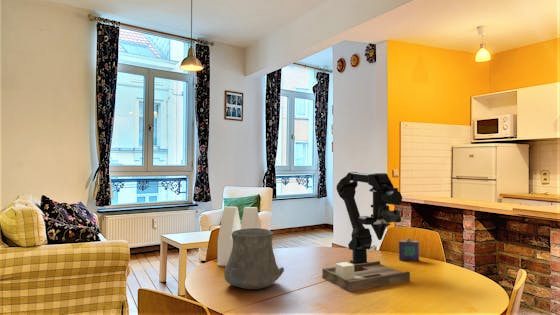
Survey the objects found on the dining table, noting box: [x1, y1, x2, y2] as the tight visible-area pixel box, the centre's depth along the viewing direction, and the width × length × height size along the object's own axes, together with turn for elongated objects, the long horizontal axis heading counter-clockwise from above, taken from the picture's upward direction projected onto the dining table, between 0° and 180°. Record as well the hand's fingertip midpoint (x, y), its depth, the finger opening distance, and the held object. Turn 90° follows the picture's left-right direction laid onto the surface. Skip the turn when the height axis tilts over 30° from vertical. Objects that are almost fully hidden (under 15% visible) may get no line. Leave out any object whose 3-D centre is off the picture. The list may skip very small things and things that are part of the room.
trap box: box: [321, 260, 411, 293], centre depth 143 cm, size 18×28×4 cm, turn 115°
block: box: [335, 261, 354, 279], centre depth 139 cm, size 5×5×4 cm
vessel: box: [223, 228, 285, 290], centre depth 136 cm, size 22×22×20 cm
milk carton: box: [217, 206, 262, 267], centre depth 171 cm, size 19×15×25 cm
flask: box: [398, 237, 420, 262], centre depth 172 cm, size 9×3×11 cm, turn 88°
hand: (379, 239), depth 155 cm, fingers closed
